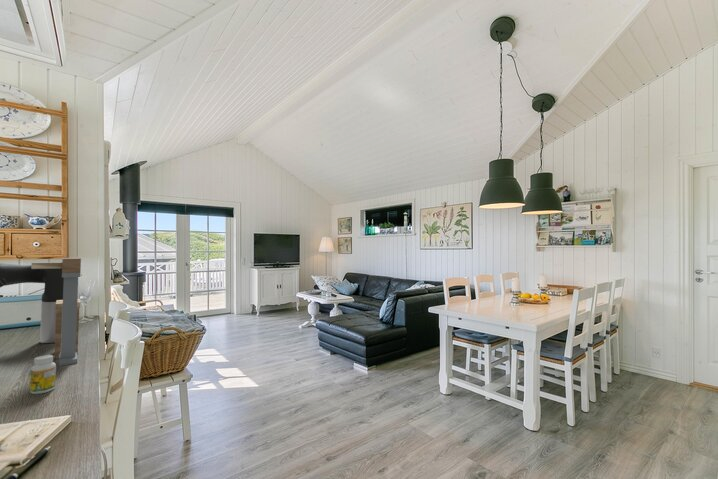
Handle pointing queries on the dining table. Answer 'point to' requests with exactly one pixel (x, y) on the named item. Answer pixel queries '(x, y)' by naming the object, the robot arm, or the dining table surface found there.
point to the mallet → (61, 265)
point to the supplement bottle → (43, 375)
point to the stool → (59, 326)
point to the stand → (69, 319)
